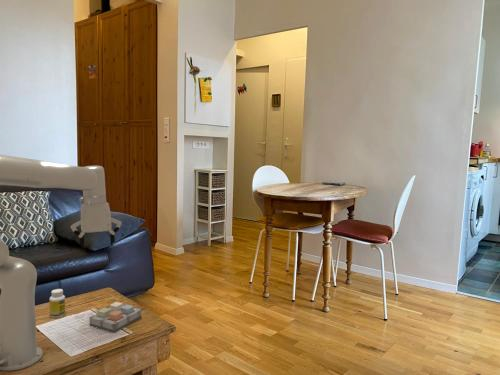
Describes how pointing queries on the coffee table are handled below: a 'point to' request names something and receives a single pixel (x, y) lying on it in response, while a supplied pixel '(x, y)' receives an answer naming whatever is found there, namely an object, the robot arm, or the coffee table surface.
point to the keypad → (112, 325)
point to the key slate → (127, 309)
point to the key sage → (103, 312)
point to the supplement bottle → (57, 303)
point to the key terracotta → (115, 315)
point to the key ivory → (116, 306)
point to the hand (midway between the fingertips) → (97, 246)
